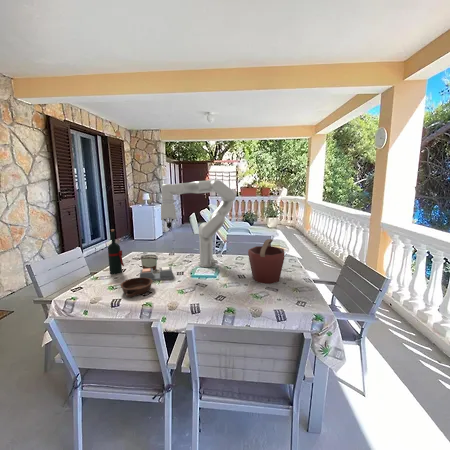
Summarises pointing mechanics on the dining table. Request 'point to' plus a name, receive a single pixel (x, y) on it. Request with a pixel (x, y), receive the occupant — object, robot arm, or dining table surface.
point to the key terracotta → (146, 270)
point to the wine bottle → (114, 256)
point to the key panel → (157, 274)
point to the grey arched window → (149, 261)
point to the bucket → (266, 262)
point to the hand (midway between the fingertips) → (169, 227)
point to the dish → (136, 286)
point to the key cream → (165, 268)
